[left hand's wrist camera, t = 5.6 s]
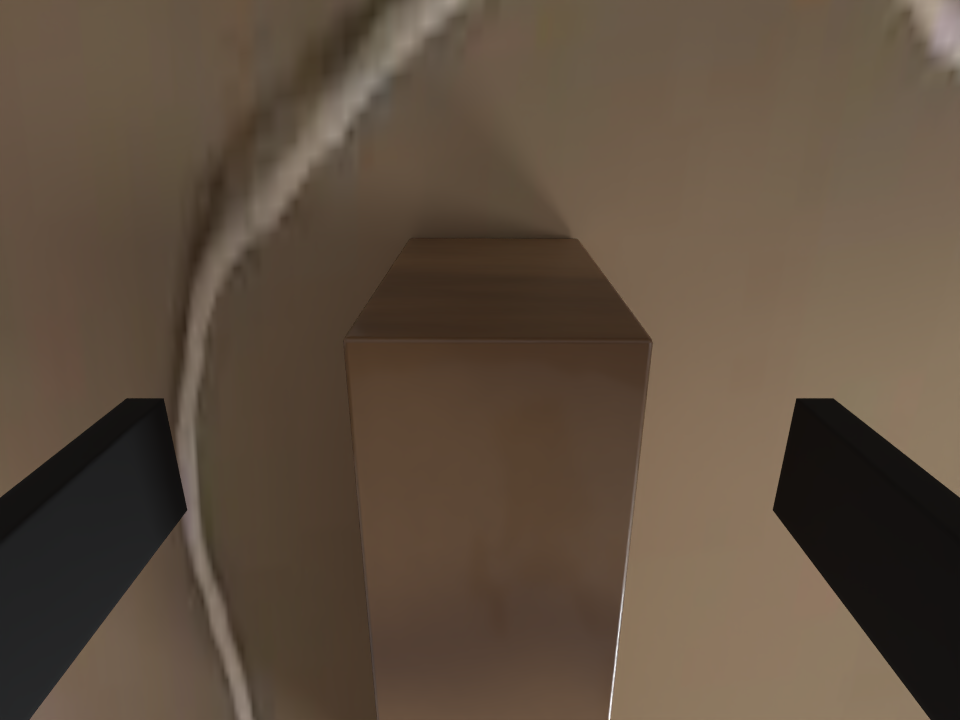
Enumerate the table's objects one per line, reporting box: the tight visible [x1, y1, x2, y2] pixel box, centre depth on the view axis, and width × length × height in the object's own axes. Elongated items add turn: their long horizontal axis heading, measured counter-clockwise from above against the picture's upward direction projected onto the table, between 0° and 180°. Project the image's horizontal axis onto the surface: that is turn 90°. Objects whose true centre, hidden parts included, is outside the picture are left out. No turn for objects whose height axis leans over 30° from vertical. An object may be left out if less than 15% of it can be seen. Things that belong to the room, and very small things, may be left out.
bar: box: [343, 238, 653, 720], centre depth 19 cm, size 25×5×9 cm, turn 0°
